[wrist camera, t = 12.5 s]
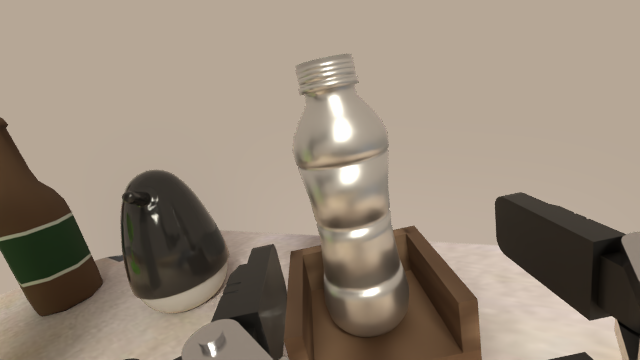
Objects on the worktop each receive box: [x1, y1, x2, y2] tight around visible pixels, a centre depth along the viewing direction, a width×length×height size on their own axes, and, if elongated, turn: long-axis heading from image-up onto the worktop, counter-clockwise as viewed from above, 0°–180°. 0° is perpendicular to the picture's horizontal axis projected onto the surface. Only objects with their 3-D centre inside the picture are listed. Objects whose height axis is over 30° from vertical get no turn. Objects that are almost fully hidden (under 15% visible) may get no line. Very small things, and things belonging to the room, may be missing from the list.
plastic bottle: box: [293, 54, 409, 337], centre depth 22 cm, size 6×7×20 cm
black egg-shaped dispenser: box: [120, 170, 229, 313], centre depth 33 cm, size 10×10×15 cm
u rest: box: [284, 226, 482, 360], centre depth 25 cm, size 12×11×5 cm
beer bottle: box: [0, 118, 103, 317], centre depth 37 cm, size 8×8×24 cm
